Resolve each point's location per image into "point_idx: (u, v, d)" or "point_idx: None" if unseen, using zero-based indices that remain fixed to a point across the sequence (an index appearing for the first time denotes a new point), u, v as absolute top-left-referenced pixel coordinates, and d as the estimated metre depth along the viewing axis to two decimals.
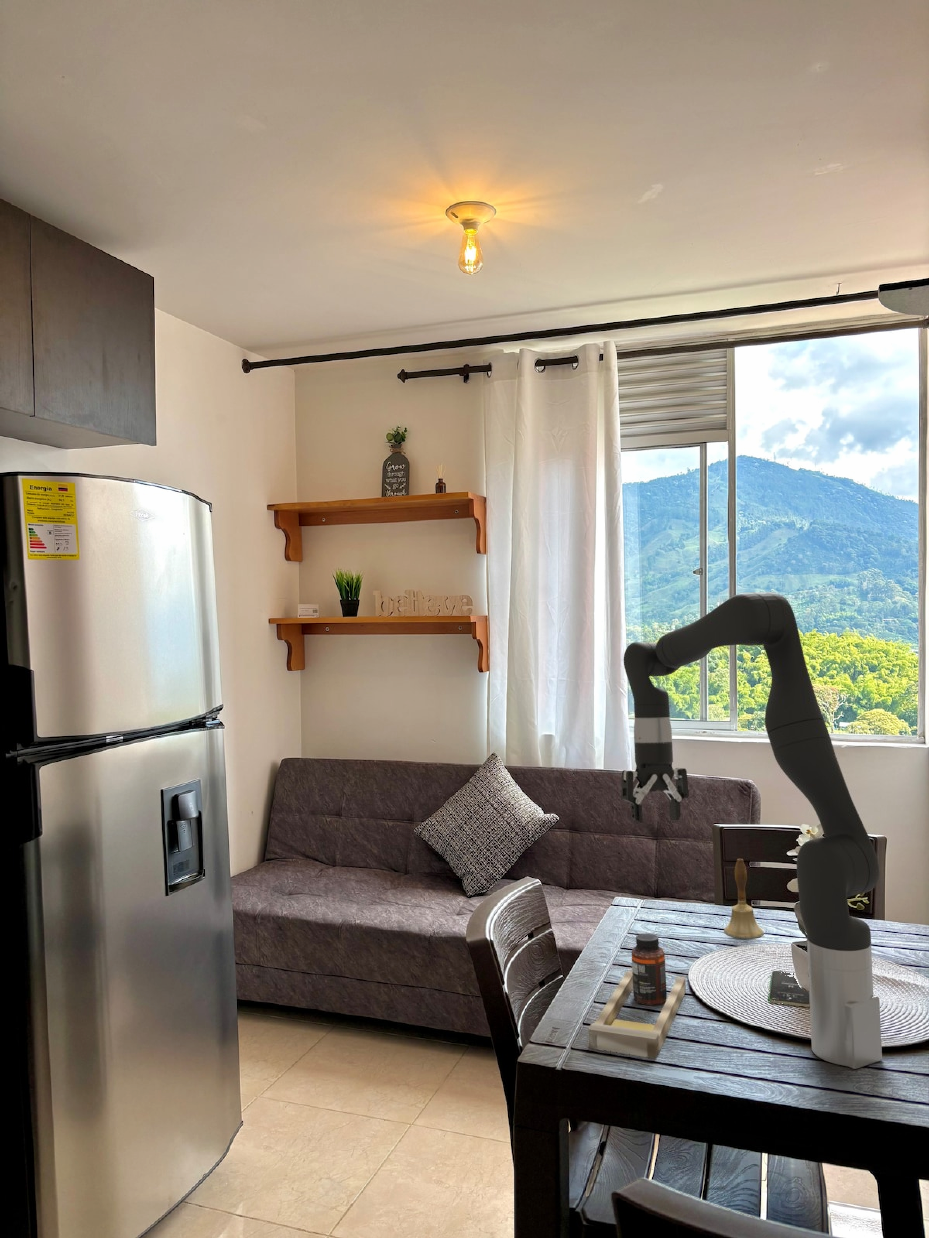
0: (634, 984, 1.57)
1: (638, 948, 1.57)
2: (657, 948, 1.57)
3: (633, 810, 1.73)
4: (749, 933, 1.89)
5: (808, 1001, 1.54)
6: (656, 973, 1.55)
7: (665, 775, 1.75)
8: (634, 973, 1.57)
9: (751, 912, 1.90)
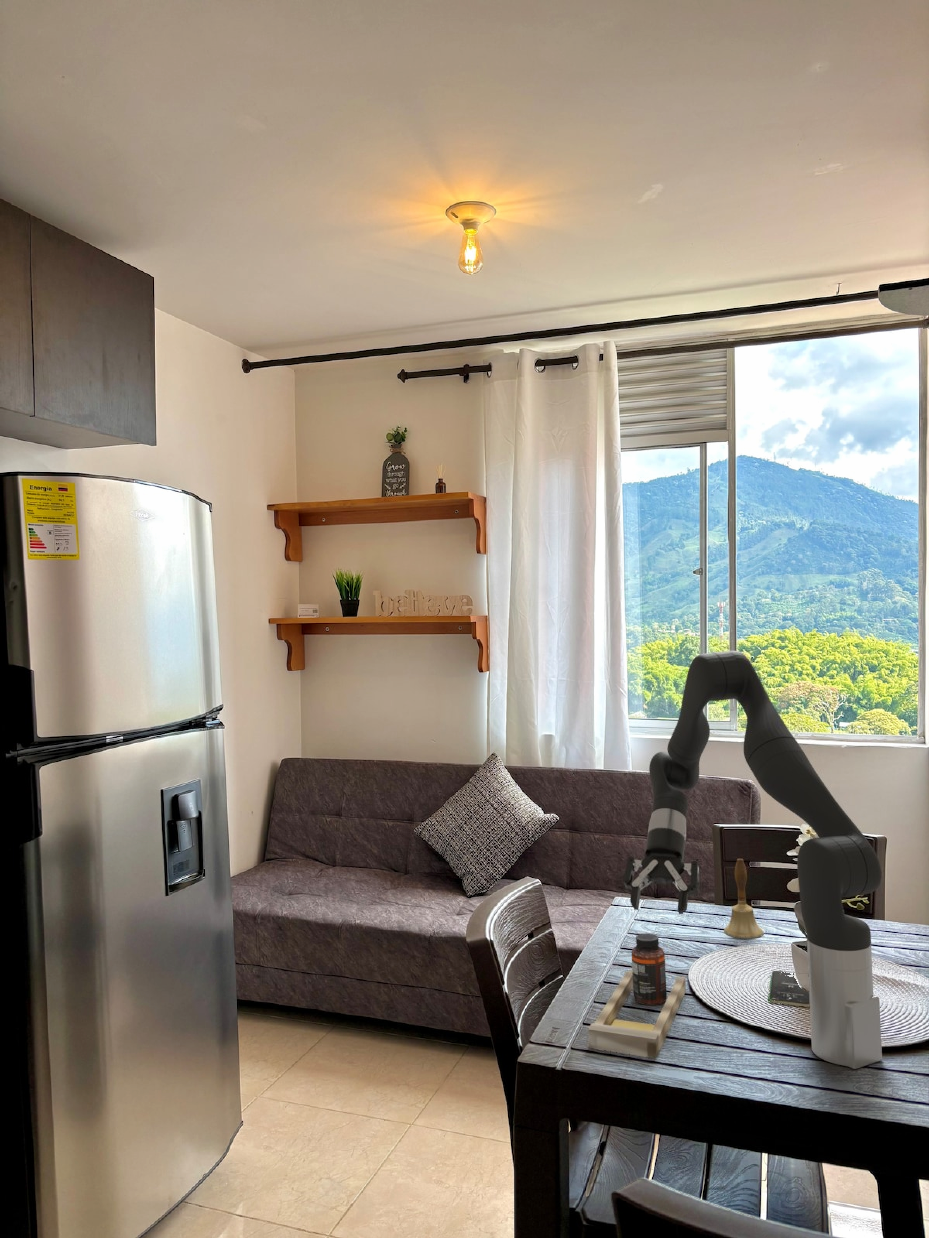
0: (634, 984, 1.57)
1: (638, 948, 1.57)
2: (657, 948, 1.57)
3: None
4: (749, 933, 1.89)
5: (808, 1001, 1.54)
6: (656, 973, 1.55)
7: (667, 862, 1.71)
8: (634, 973, 1.57)
9: (751, 912, 1.90)
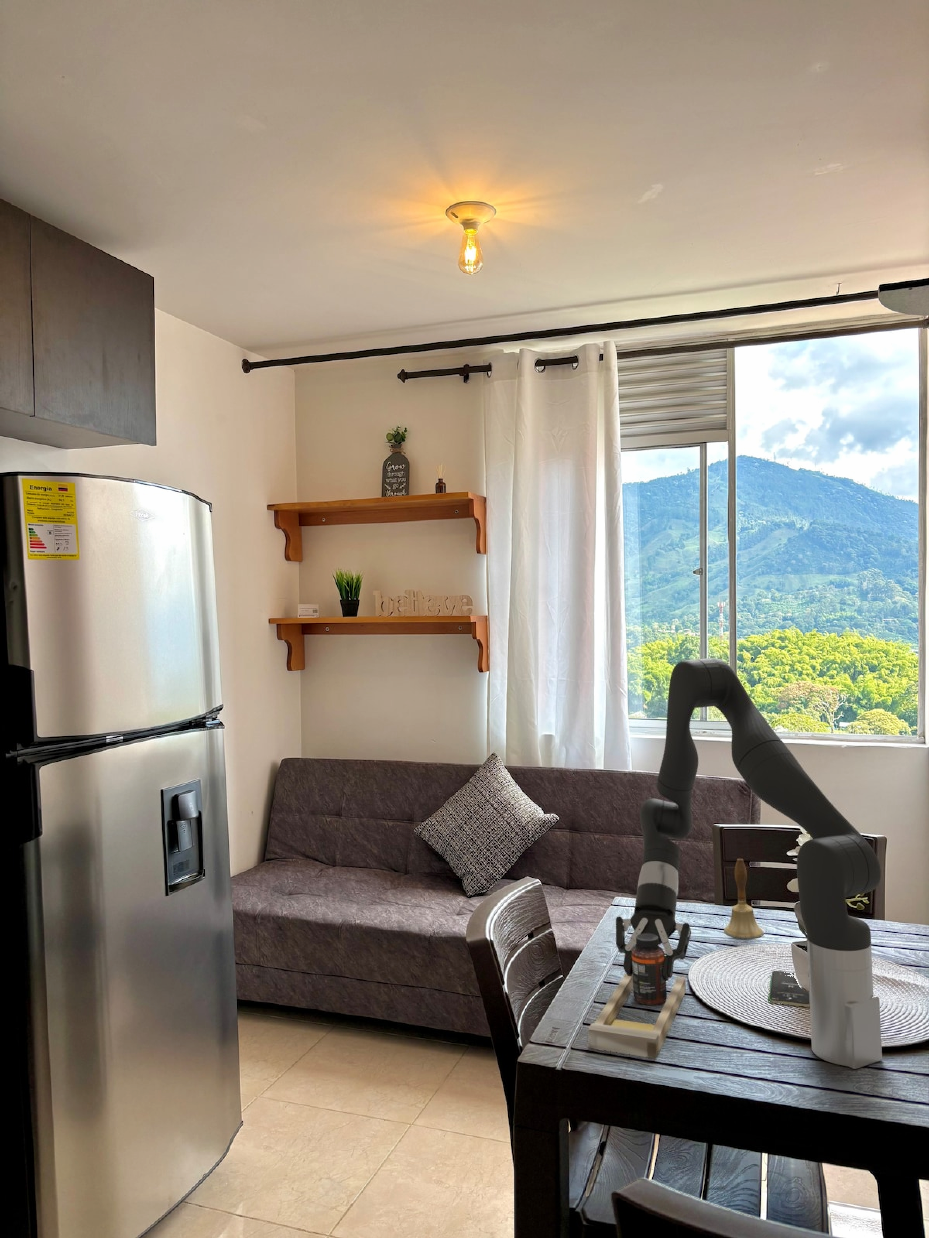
0: (634, 984, 1.57)
1: (638, 947, 1.57)
2: (657, 948, 1.57)
3: None
4: (749, 933, 1.89)
5: (808, 1001, 1.54)
6: (656, 973, 1.55)
7: (658, 920, 1.61)
8: (634, 973, 1.57)
9: (751, 912, 1.90)
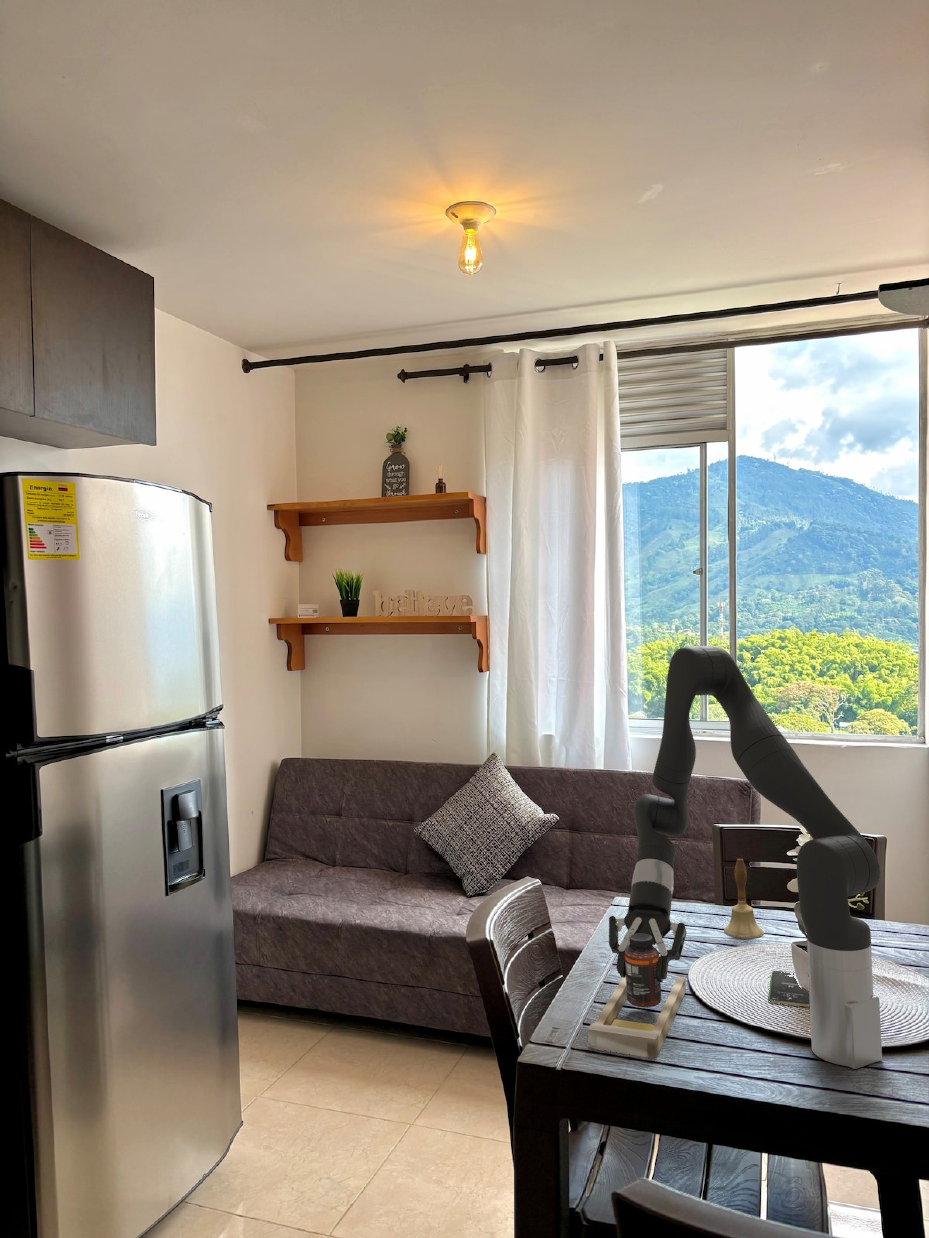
0: (628, 986, 1.52)
1: (631, 948, 1.52)
2: (651, 948, 1.52)
3: None
4: (749, 933, 1.89)
5: (808, 1001, 1.54)
6: (650, 974, 1.50)
7: (652, 920, 1.56)
8: (627, 974, 1.52)
9: (751, 912, 1.90)
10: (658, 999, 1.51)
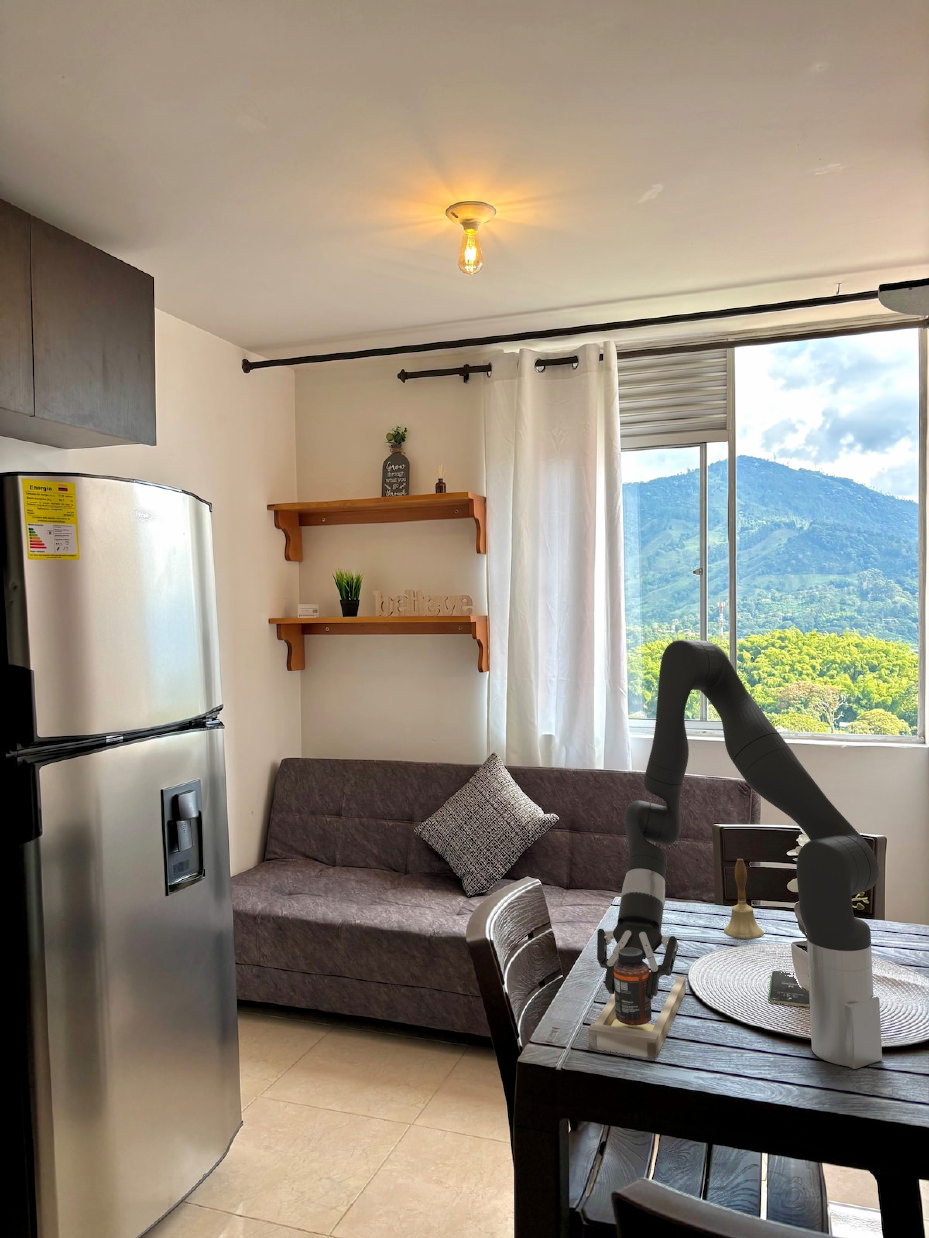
0: (616, 1003, 1.45)
1: (620, 963, 1.45)
2: (641, 963, 1.45)
3: None
4: (749, 933, 1.89)
5: (808, 1001, 1.54)
6: (640, 991, 1.43)
7: (643, 933, 1.49)
8: (616, 991, 1.45)
9: (751, 912, 1.90)
10: (648, 1017, 1.44)
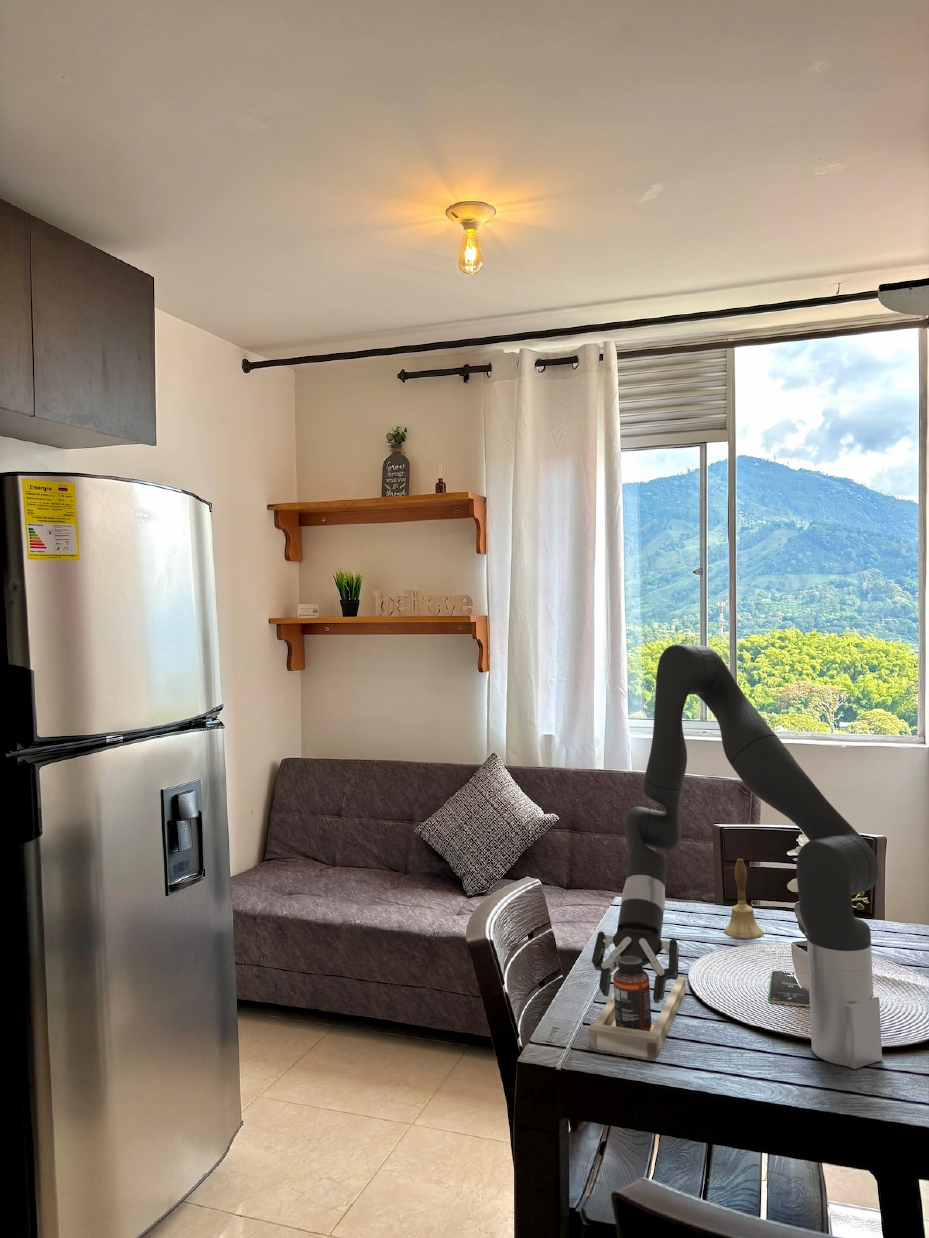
0: (616, 1011, 1.45)
1: (620, 971, 1.45)
2: (641, 972, 1.45)
3: None
4: (749, 933, 1.89)
5: (808, 1001, 1.54)
6: (639, 999, 1.43)
7: (642, 940, 1.49)
8: (616, 999, 1.45)
9: (751, 912, 1.90)
10: (648, 1025, 1.44)
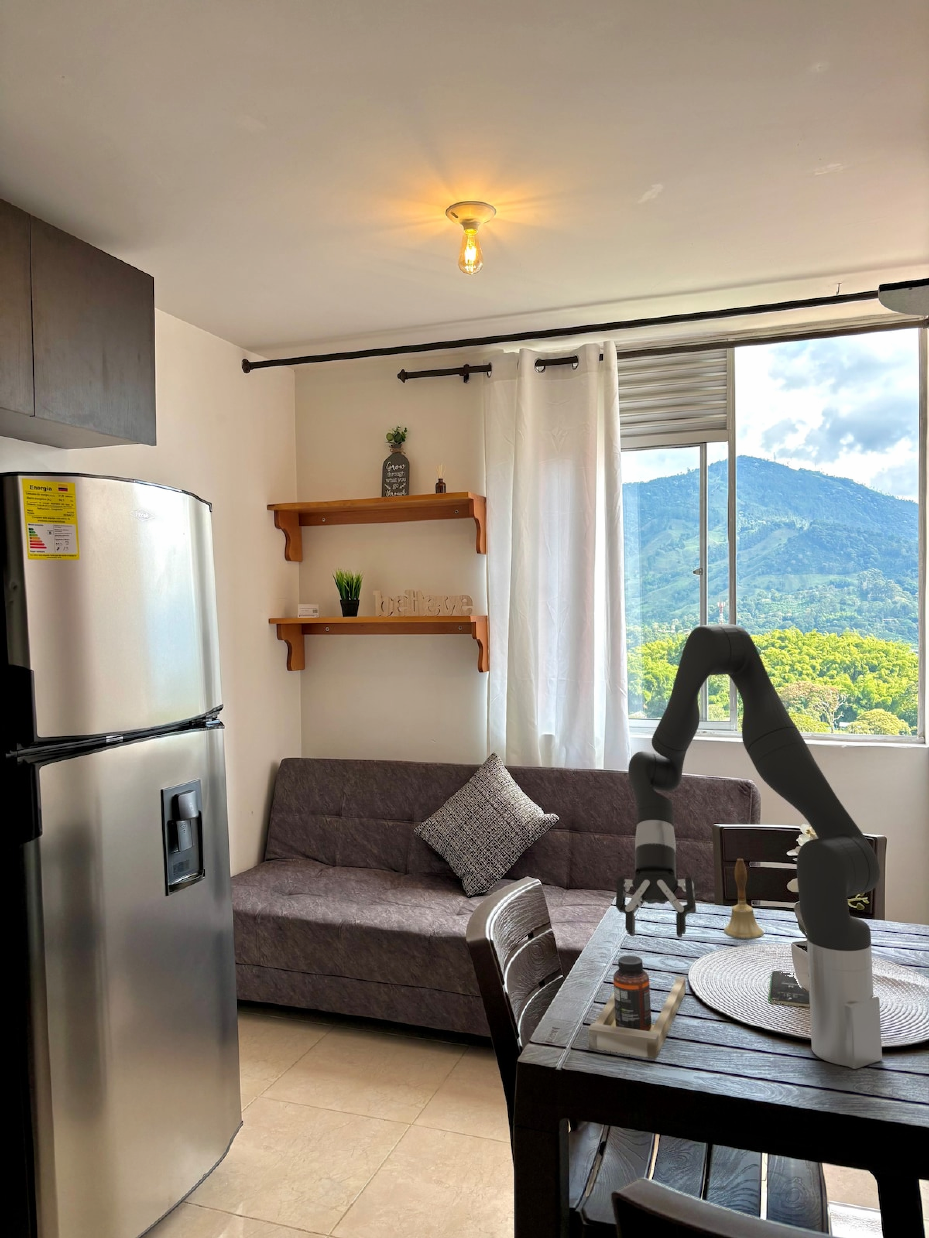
0: (616, 1011, 1.45)
1: (620, 971, 1.45)
2: (641, 972, 1.45)
3: None
4: (749, 933, 1.89)
5: (808, 1001, 1.54)
6: (640, 1000, 1.43)
7: (660, 881, 1.61)
8: (616, 999, 1.45)
9: (751, 912, 1.90)
10: (648, 1025, 1.44)
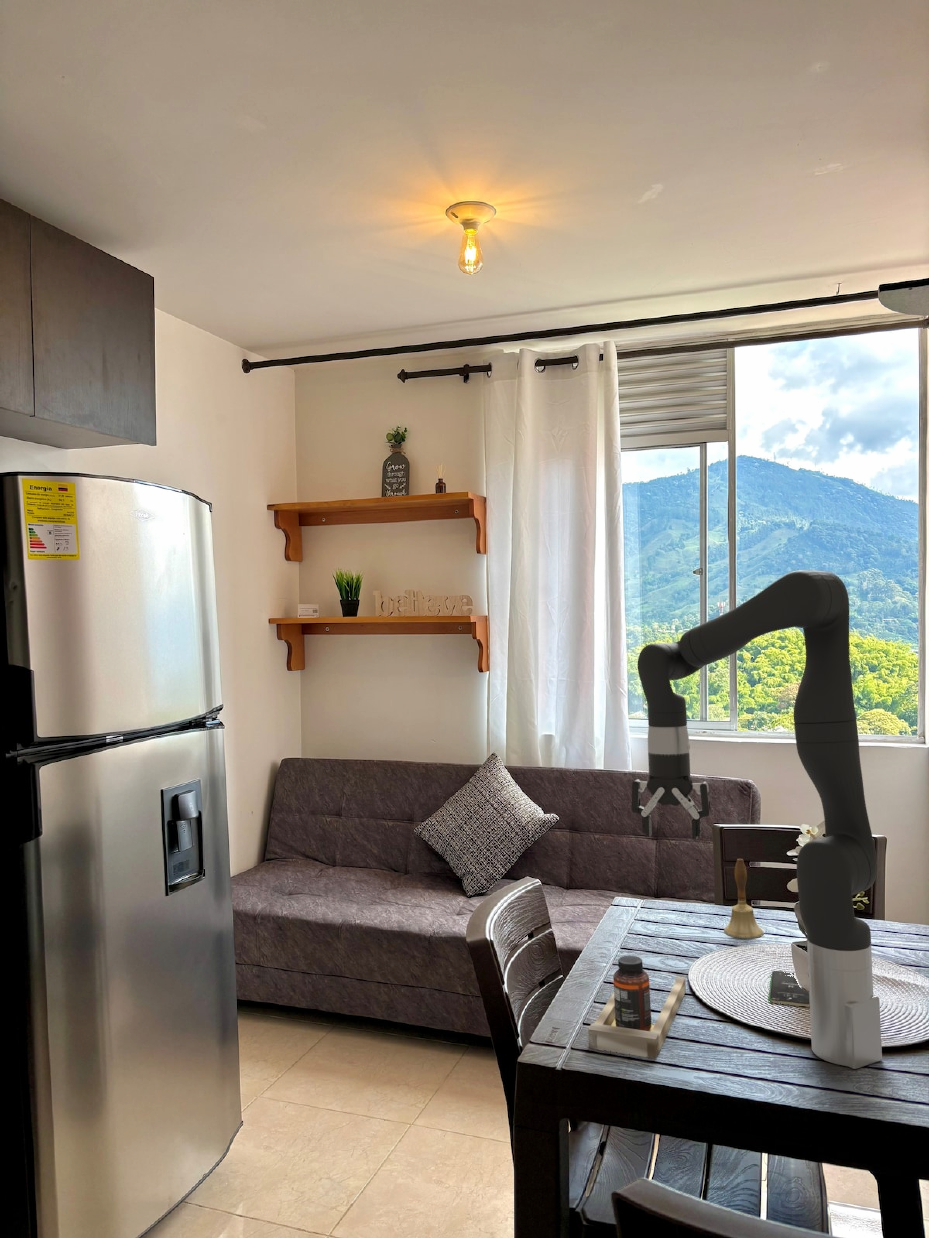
0: (616, 1011, 1.45)
1: (620, 971, 1.45)
2: (641, 972, 1.45)
3: None
4: (749, 933, 1.89)
5: (808, 1001, 1.54)
6: (639, 999, 1.43)
7: (675, 789, 1.60)
8: (616, 999, 1.45)
9: (751, 912, 1.90)
10: (648, 1025, 1.44)
